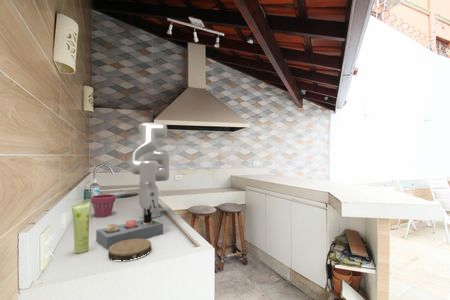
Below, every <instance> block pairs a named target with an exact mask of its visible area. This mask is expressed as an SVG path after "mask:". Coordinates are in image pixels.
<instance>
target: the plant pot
mask: <svg viewBox="0 0 450 300" xmlns="http://www.w3.org/2000/svg"><path fill="white" fill-rule="evenodd" d="M115 202H116V195H115V194H113V193H112V194H111V193H110V194H109V193H108V194H106V193H105V194H104V193H103V194H97V195H92V196H91V198H90V204H92V206H93V207H92V208H93V212H94V215H95V217H96V218H107V217H109V216H110V217H111V215H112V212H113V207H114V203H115Z"/></svg>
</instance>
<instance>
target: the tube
mask: <svg viewBox="0 0 450 300" xmlns="http://www.w3.org/2000/svg"><path fill="white" fill-rule="evenodd" d="M71 213H72V224H73V243H74V244H73V245H74V250H73V251H74V253H75V254H83V253H86V252H88V251H89V249H90V247H89V246H90V244H89V241H90V239H89V237H90V235H89V234H90V215H91V214H90V213H91V201H88V202H82V203H78V204H73V205H71Z"/></svg>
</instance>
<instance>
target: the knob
mask: <svg viewBox="0 0 450 300" xmlns="http://www.w3.org/2000/svg"><path fill="white" fill-rule="evenodd" d="M118 225H119V224H117V223H110V224H107V225H106V228H107V234H110V233H114V232H118Z"/></svg>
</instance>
